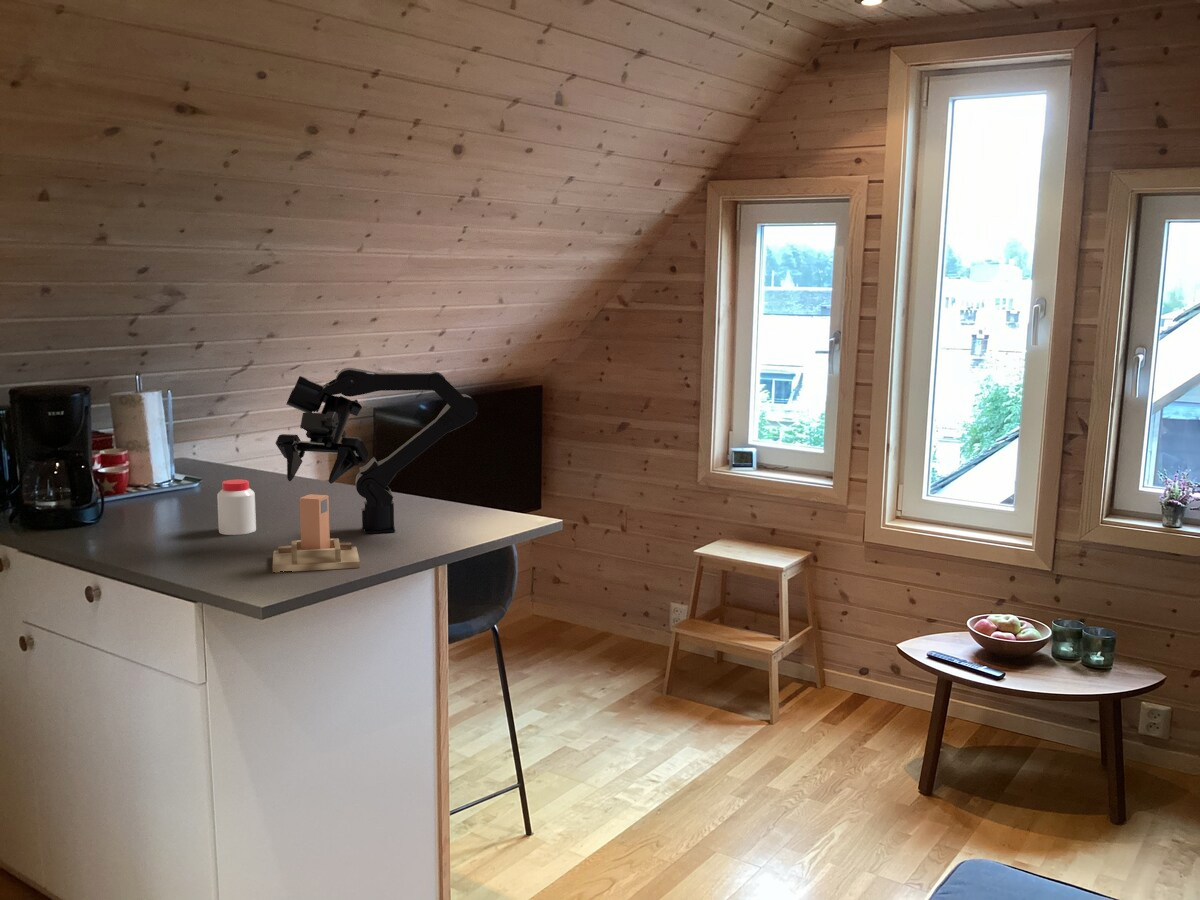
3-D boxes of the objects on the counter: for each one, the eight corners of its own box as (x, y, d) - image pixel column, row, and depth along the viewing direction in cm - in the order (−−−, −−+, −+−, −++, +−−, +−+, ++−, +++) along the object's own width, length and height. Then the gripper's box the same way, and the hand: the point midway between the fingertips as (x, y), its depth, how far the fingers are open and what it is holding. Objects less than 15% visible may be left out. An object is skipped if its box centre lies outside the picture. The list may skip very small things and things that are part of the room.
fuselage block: (311, 554, 210) (309, 494, 208) (330, 555, 209) (328, 495, 207) (301, 559, 206) (299, 498, 204) (320, 560, 205) (319, 499, 203)
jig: (356, 552, 216) (355, 534, 216) (359, 567, 205) (359, 548, 204) (273, 556, 212) (273, 538, 211) (272, 572, 201) (272, 553, 200)
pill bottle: (243, 525, 239) (241, 477, 237) (263, 530, 234) (261, 481, 232) (211, 531, 233) (209, 481, 231) (231, 536, 228) (229, 486, 226)
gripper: (278, 395, 224) (252, 456, 215) (361, 399, 220) (338, 460, 211) (297, 428, 233) (273, 487, 224) (377, 432, 229) (356, 492, 220)
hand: (309, 481), depth 219 cm, fingers open, 9 cm apart
